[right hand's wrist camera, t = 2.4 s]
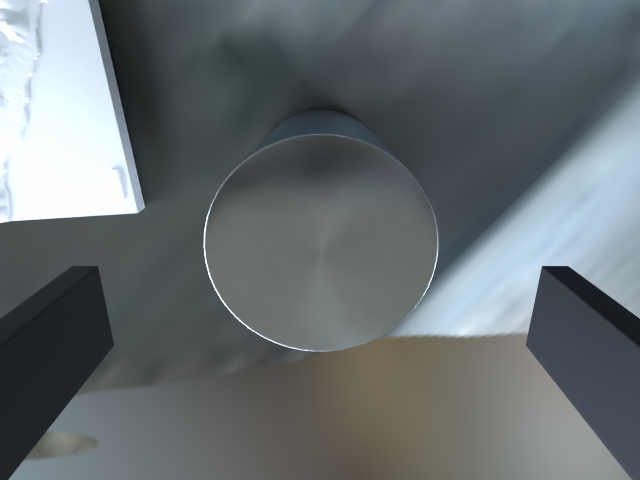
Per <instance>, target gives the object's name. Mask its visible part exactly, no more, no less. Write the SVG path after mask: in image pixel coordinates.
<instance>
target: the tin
mask: <svg viewBox="0 0 640 480" xmlns="http://www.w3.org/2000/svg"><path fill="white" fill-rule="evenodd" d="M438 248H439V239H438V227H437V222H436V217H435V214H434V211H433V208H432V205H431V202H430V200H429V198H428V196H427V194H426V192H425V190H424V189H423V187H422V186H421V184H420V183H419V181H418V180H417V179H416V177H415V176H414V175H413V174H412V173H411V172H410V171H409V170H408V169H407V167H406V166H405V165H404V164H403V163H402V162H401V161H400V160H399V159H398V158H397V157H396V156H395V155H394V154H393V153H392V152H391V151H390V150H389V149H388V148H387V147H386V146H385V145H384V144H383V143H382V142H381V141H380V140H379V139H378V138H377V137H376V136H375V135H374V134H373V133H372V132H371V131H370V130H369V129H368V128H367V127H366V126H365V125H364V124H362V123H361V122H360V121H358V120H356V119H355V118H353V117H351V116H349V115H347V114H344V113H341V112H337V111H333V110H310V111H305V112H301V113H298V114H296V115H293V116H291V117H289V118H287V119H286V120H284V121H283V122H281V123H280V124H279V125H277V126H276V127H275V128H274V129H273V130H272V131H271V132H270V133H269V134H268V135H267V136H266V137H265V138H264V139H263V140H262V141H261V142H260V143H259V144H258V145H257V146H256V147H255V148H254V149H253V151H252V152H251V153H250V154H249V155H248V156H247V157H246V158H245V159H244V160H243V161H242V162H241V163H240V164H239V165H238V166H237V167H236V168H235V169H234V170H233V171H232V172H231V173H230V175H229V176H228V177H227V178H226V179H225V181H224V182H223V184H222V185H221V187H220V188H219V190H218V191H217V193H216V195H215V197H214V199H213V201H212V203H211V206H210V209H209V212H208V216H207V219H206V225H205V231H204V253H205V261H206V265H207V269H208V273H209V276H210V278H211V281H212V283H213V285H214V288H215V290H216V291H217V293H218V295H219V297H220V298H221V300H222V301H223V303H224V304H225V305H226V307H227V308H228V309H229V310H230V312H231V313H232V314H233V315H234V316H235V317H236V318H237V319H238V320H239V321H240V322H242V323H243V324H244V325H245V326H247V327H248V328H249V329H251V330H252V331H254V332H255V333H257V334H259V335H260V336H262V337H264V338H266V339H268V340H270V341H272V342H275V343H278V344H281V345H284V346H286V347H290V348H295V349H300V350H308V351H335V350H343V349H347V348H352V347H356V346H359V345H362V344H365V343H368V342H370V341H372V340H374V339H376V338H378V337H381V336H382V335H384V334H385V333H387V332H389V331H390V330H392V329H393V328H395V327H396V326H397V325H398V324H399V323H401V322H402V321H403V320H404V319H405V318H406V317H407V316H408V315H409V314H410V313H411V312H412V311H413V310H414V309H415V307H416V306H417V305H418V303H419V302H420V301H421V299H422V298H423V296H424V294H425V292H426V290H427V289H428V287H429V284H430V282H431V279H432V277H433V274H434V271H435V267H436V263H437V258H438Z"/></svg>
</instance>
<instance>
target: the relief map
mask: <svg viewBox="0 0 640 480" xmlns="http://www.w3.org/2000/svg"><path fill="white" fill-rule="evenodd" d="M144 208H145V206H144V201H143V197H142V193H141V188H140V184H139V179H138V175H137V170H136V166H135V162H134V157H133V153H132V148H131V144H130V139H129V135H128V131H127V126H126V122H125V117H124V113H123V108H122V104H121V100H120V95H119V91H118V86H117V82H116V77H115V73H114V69H113V64H112V60H111V55H110V51H109V46H108V42H107V38H106V33H105V29H104V24H103V20H102V15H101V11H100V7H99V2H98V0H0V222H9V221H17V220H33V219H49V218H64V217H80V216H96V215H112V214H128V213H138V212H140V211H141V210H143V209H144Z"/></svg>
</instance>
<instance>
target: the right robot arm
mask: <svg viewBox="0 0 640 480" xmlns="http://www.w3.org/2000/svg"><path fill="white" fill-rule="evenodd" d="M113 346H114V342H113V337H112V333H111V328H110V323H109V318H108V313H107V308H106V303H105V298H104V294H103V289H102V284H101V279H100V274H99V269H98V266H72V267H70V268H69V269H67V270H66V271H65V272H63V273H62V274H61V275H59V276H58V277H57V278H55V279H54V280H52V281H51V282H50V283H48V284H47V285H46V286H44V287H43V288H42V289H40V290H39V291H37V292H36V293H35V294H33V295H32V296H31V297H29V298H28V299H27V300H25V301H24V302H22V303H21V304H20V305H18V306H17V307H16V308H14V309H13V310H12V311H10V312H9V313H7V314H6V315H5V316H3V317H2V318H1V319H0V480H8V479H9V478H10V477H11V475H12V474H13V473H14V472H15V470H16V469H17V468H18V467H19V465H20V464H21V463H22V461H23V460H24V459H25V458H26V456H27V455H28V454H29V453H30V451H31V450H32V449H33V448H34V446H35V445H36V444H37V442H38V441H39V440H40V439H41V437H42V436H43V435H44V434H45V432H46V431H47V430H48V428H49V427H50V426H51V425H52V423H53V422H54V421H55V420H56V418H57V417H58V416H59V414H60V413H61V412H62V411H63V409H64V408H65V407H66V406H67V404H68V403H69V402H70V401H71V399H72V398H73V397H74V396H75V394H76V393H77V392H78V390H79V389H80V388H81V387H82V385H83V384H84V383H85V382H86V380H87V379H88V378H89V376H90V375H91V374H92V373H93V371H94V370H95V369H96V368H97V366H98V365H99V364H100V363H101V361H102V360H103V359H104V357H105V356H106V355H107V354H108V352H109V351H110V350H111V349H112V347H113ZM526 346H527V347H528V348H529V350H530V351H531V352H532V354H533V355H534V356H535V357H536V359H537V360H538V361H539V363H540V364H541V365H542V366H543V368H544V369H545V370H546V371H547V373H548V374H549V375H550V376H551V378H552V379H553V380H554V382H555V383H556V384H557V385H558V386H559V388H560V389H561V390H562V392H563V393H564V394H565V396H566V397H567V398H568V399H569V401H570V402H571V403H572V404H573V406H574V407H575V408H576V409H577V411H578V412H579V413H580V415H581V416H582V417H583V418H584V420H585V421H586V422H587V423H588V425H589V426H590V427H591V428H592V430H593V431H594V432H595V434H596V435H597V436H598V437H599V439H600V440H601V441H602V442H603V444H604V445H605V446H606V447H607V449H608V450H609V451H610V453H611V454H612V455H613V456H614V458H615V459H616V460H617V461H618V463H619V464H620V465H621V467H622V468H623V469H624V470H625V472H626V473H627V474H628V475H629V477H630V478H631V479H632V480H640V319H639V318H638V317H637V316H635V315H634V314H633V313H631V312H630V311H628V310H627V309H626V308H624V307H623V306H622V305H620V304H619V303H618V302H616V301H615V300H613V299H612V298H611V297H609V296H608V295H607V294H605V293H604V292H603V291H601V290H600V289H598V288H597V287H596V286H594V285H593V284H592V283H590V282H589V281H588V280H586V279H585V278H583V277H582V276H581V275H579V274H578V273H577V272H575V271H574V270H573V269H571V268H570V267H568V266H542V269H541V274H540V279H539V284H538V289H537V294H536V298H535V303H534V308H533V313H532V318H531V323H530V328H529V333H528V337H527V342H526Z"/></svg>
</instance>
